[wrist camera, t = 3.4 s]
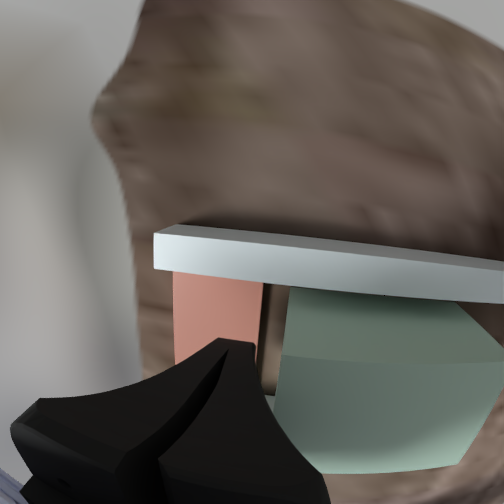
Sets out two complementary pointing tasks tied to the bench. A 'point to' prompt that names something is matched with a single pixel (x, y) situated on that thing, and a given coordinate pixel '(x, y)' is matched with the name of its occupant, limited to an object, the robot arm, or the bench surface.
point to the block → (383, 381)
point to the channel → (297, 277)
